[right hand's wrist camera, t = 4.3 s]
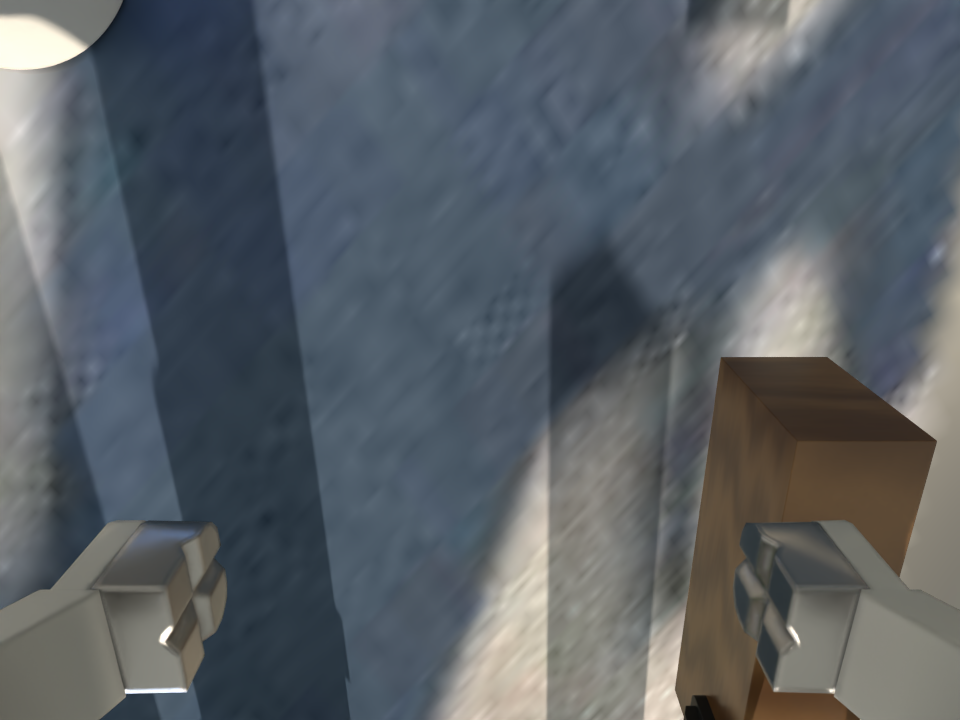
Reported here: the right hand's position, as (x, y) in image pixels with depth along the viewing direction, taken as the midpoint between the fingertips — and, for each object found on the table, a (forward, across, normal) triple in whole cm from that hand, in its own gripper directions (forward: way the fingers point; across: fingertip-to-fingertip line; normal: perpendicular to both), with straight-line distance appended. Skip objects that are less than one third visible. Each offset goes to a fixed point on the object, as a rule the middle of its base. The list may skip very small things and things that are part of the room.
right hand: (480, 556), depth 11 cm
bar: (+23, -15, +17) cm, 32 cm away
